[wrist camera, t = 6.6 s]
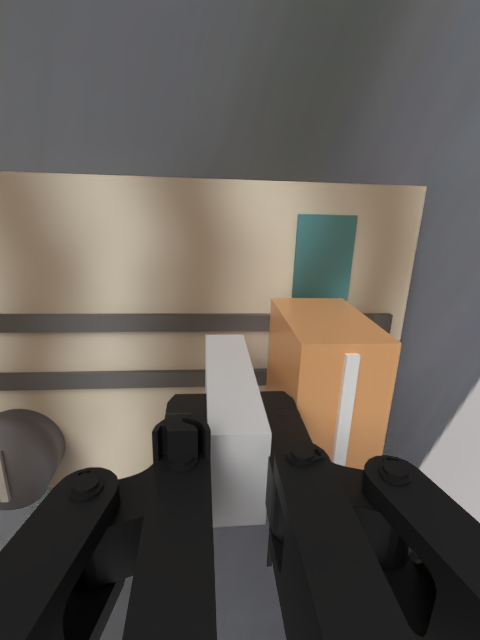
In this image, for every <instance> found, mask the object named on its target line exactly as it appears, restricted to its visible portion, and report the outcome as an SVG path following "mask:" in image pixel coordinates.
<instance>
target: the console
mask: <svg viewBox="0 0 480 640" xmlns="http://www.w3.org/2000/svg"><path fill="white" fill-rule="evenodd" d="M426 188H427V186H403V185H374V184H346V183H318V182H289V181H261V180H233V179H204V178H176V177H147V176H119V175H91V174H62V173H34V172H6V171H0V510H15V509H20V508H23V507H26V506H29V505H31V504H33V503H34V502H36V501H37V500H38V499H40V498H41V496H42V495H43V494H44V493H45V491H46V489H47V488H54V487H55V486H56V484H57V483H59V482H60V481H61V480H62V479H63V478H64V477H65V476H67V475H69V474H71V473H73V472H75V471H77V470H81V469H85V468H89V467H102V468H105V469H108V470H111V471H112V472H113V473H114V474H115V475H117V479H122V478H126V477H129V476H133V475H135V474H138V473H140V472H142V471H144V470H146V469H148V468H149V467H150V466H151V465H152V464H153V448H152V431H153V429H154V427H155V425H157V424H158V423H159V422H161V421H162V420H164V419H165V414H166V407H167V402H168V401H169V400H170V399H171V398H172V397H173V396H174V395H175V394H203V393H205V338H206V335H244V339H245V342H246V346H247V349H248V353H249V356H250V360H251V363H252V367H253V370H254V374H255V377H256V381H257V384H258V387H259V391H266V380H267V363H268V345H269V328H270V311H271V298H343V299H344V300H345V301H347V302H348V303H349V304H351V305H352V306H353V307H355V308H356V309H357V310H359V311H360V312H361V313H363V314H364V315H365V316H366V317H368V318H369V319H370V320H372V321H373V322H374V323H376V324H377V325H378V326H380V327H381V328H382V329H384V330H385V331H386V332H387V333H389V334H390V335H391V336H393V337H394V338H395V339H397V340H398V341H399V342H400V338H401V332H402V326H403V321H404V315H405V309H406V303H407V298H408V292H409V286H410V280H411V275H412V269H413V263H414V257H415V252H416V246H417V240H418V234H419V229H420V223H421V217H422V211H423V206H424V200H425V194H426Z"/></svg>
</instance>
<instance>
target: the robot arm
mask: <svg viewBox="0 0 480 640" xmlns="http://www.w3.org/2000/svg"><path fill="white" fill-rule="evenodd" d="M152 448H153V464H152V465H151V466H150V467H149V468H148V469H146V470H144V471H142V472H140V473H138V474H135V475H133V476H129V477H126V478H122V479H117V475H115V474H114V473H113V472H112V471H111V470H108V469H105V468H102V467H89V468H85V469H81V470H77V471H75V472H73V473H71V474H69V475H67V476H65V477H64V478H63V479H62V480H61V481H60V482H59V483H57V484H56V486H55V487H54V488H53V489H52V490H51V492H50V493H49V494H48V495H47V496H46V498H45V499H44V500H43V501H42V502H41V504H40V505H39V506H38V507H37V508H36V510H35V511H34V512H33V513H32V514H31V516H30V517H29V518H28V519H27V520H26V522H25V523H24V524H23V525H22V526H21V528H20V529H19V530H18V531H17V532H16V534H15V535H14V536H13V537H12V538H11V540H10V541H9V542H8V543H7V544H6V546H5V547H4V548H3V549H2V550H1V552H0V640H99V639H100V637H101V635H102V632H103V630H104V628H105V626H106V623H107V621H108V619H109V617H110V614H111V612H112V610H113V608H114V606H115V603H116V601H117V599H118V597H119V594H120V592H121V590H122V588H123V585H124V582H125V578H127V577H130V576H133V581H132V587H131V593H130V598H129V604H128V610H127V615H126V621H125V627H124V633H123V638H122V640H217V629H216V601H215V573H214V545H213V527H229V526H249V525H266V511H267V515H268V519H269V524H270V527H269V541H268V555H267V567H268V566H271V565H272V564H273V569H274V574H275V580H276V585H277V591H278V596H279V601H280V607H281V612H282V617H283V623H284V628H285V633H286V639H287V640H480V523H479V522H478V521H477V520H476V519H474V518H473V517H472V516H471V515H470V514H469V513H468V512H466V511H465V510H464V509H463V508H462V507H461V506H460V505H458V504H457V503H456V502H455V501H454V500H453V499H451V497H450V496H448V495H447V494H446V493H445V492H444V491H443V490H442V489H441V488H439V487H438V486H437V485H436V484H435V483H434V482H432V481H431V480H430V479H429V478H428V477H427V476H426V475H425V474H423V473H422V472H421V471H420V470H419V469H418V468H417V467H415V466H414V465H412V464H411V463H409V462H408V461H405V460H403V459H400V458H398V457H393V456H387V455H382V456H375V457H372V458H370V459H368V461H367V462H366V463H365V465H364V470H361V469H356V468H351V467H346V466H342V465H338V464H335V463H333V462H331V460H330V458H329V456H328V455H327V453H326V452H325V451H324V449H322V448H320V447H319V446H317V445H316V444H313V443H312V440H311V438H310V436H309V433H308V431H307V429H306V427H305V424H304V422H303V420H302V418H301V415H300V413H299V411H298V410H297V406H296V404H295V401H294V399H293V398H292V397H290V396H289V395H288V394H287V393H286V392H284V391H259V387H258V384H257V381H256V377H255V374H254V370H253V367H252V363H251V360H250V356H249V353H248V349H247V346H246V342H245V339H244V335H206V338H205V393H203V394H175V395H174V396H173V397H172V398H171V399H170V400H169V401H168V402H167V407H166V414H165V419H164V420H162V421H161V422H159V423H158V424H157V425H155V427H154V429H153V431H152Z"/></svg>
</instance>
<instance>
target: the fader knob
mask: <svg viewBox="0 0 480 640" xmlns="http://www.w3.org/2000/svg"><path fill="white" fill-rule="evenodd" d="M401 345H402V343H401V342H399V341H398V340H397V339H395V338H394V337H393V336H391V335H390V334H389V333H387V332H386V331H385V330H384V329H382V328H381V327H380V326H378V325H377V324H376V323H374V322H373V321H372V320H370V319H369V318H368V317H366V316H365V315H364V314H363V313H361V312H360V311H359V310H357V309H356V308H355V307H353V306H352V305H351V304H349V303H348V302H347V301H345V300H344V299H343V298H271V311H270V328H269V345H268V363H267V380H266V391H284V392H286V393H287V394H288V395H289V396H290V397H292V398H293V399H294V401H295V404H296V406H297V410H298V411H299V413H300V415H301V418H302V420H303V422H304V424H305V427H306V429H307V431H308V433H309V436H310V438H311V440H312V443H313V444H316V445H317V446H319V447H320V448H322V449H324V451H325V452H326V453H327V455H328V456H329V458H330V460H331V462H333V463H335V464H338V465H342V466H346V467H351V468H356V469H361V470H364V465H365V463H366V462H367V461H368V459H370V458H372V457H375V456H382V453H383V448H384V442H385V436H386V431H387V425H388V419H389V414H390V408H391V402H392V397H393V391H394V385H395V379H396V374H397V368H398V362H399V357H400V351H401Z"/></svg>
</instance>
